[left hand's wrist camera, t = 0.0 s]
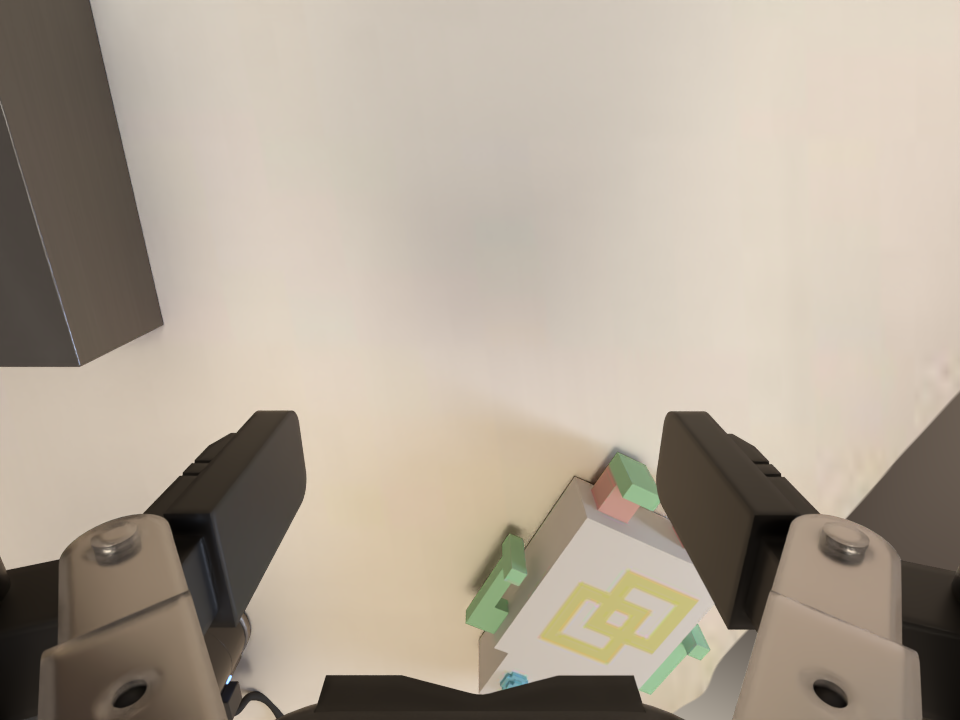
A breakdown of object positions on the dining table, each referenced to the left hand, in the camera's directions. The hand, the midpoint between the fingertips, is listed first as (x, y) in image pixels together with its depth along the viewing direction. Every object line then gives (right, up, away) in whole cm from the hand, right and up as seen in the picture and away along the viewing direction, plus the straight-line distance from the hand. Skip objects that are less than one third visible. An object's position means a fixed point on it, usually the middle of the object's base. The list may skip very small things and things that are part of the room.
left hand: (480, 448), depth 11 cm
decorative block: (+11, -19, +38) cm, 44 cm away
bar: (-28, +16, +25) cm, 41 cm away
